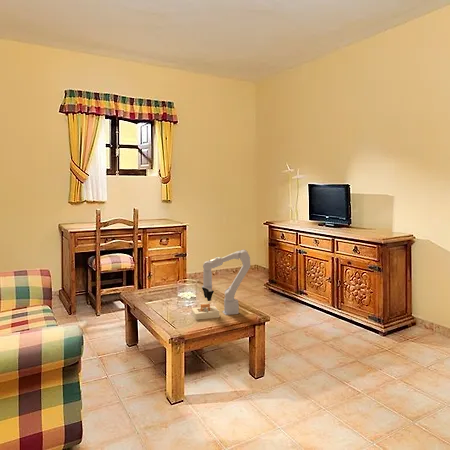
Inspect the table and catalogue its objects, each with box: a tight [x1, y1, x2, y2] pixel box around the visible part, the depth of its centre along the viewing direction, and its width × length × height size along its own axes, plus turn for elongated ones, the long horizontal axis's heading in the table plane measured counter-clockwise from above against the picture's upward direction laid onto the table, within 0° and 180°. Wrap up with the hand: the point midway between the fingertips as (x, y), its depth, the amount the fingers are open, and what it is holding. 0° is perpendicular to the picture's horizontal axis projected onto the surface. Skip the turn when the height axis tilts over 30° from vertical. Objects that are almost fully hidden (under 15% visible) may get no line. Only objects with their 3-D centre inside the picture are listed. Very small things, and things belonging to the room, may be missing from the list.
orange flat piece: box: [200, 303, 211, 312], centre depth 261 cm, size 6×1×6 cm, turn 107°
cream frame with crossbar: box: [191, 305, 221, 321], centre depth 261 cm, size 16×12×6 cm
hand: (207, 299), depth 266 cm, fingers open, 7 cm apart
